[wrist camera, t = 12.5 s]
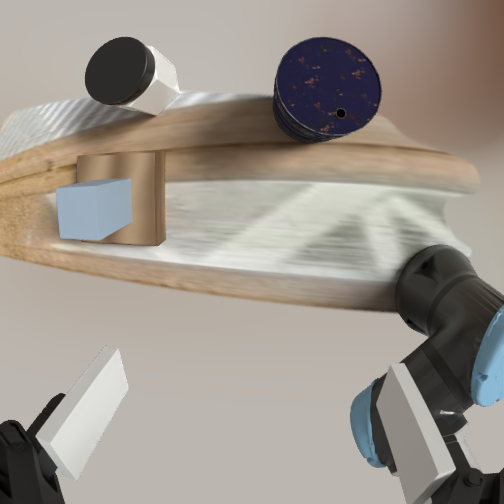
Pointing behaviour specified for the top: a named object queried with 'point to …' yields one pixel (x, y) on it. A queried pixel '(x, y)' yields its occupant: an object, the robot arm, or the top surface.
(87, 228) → the slate block
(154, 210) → the base block
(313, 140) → the dark blue upright cylinder
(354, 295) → the top surface
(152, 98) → the jar
